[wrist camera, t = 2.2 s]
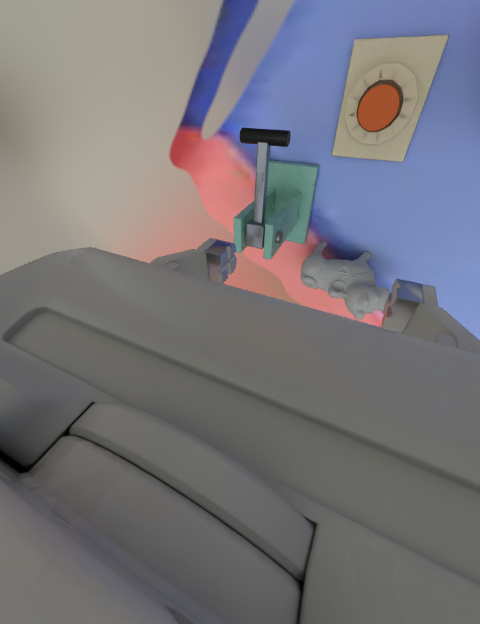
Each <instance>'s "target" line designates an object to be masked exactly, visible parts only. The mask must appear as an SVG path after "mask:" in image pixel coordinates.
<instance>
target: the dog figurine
mask: <svg viewBox="0 0 480 624" xmlns="http://www.w3.org/2000/svg"><path fill="white" fill-rule="evenodd" d="M326 246H327V243H326V242H321V243H320V244H318V245H317V247H316V248H315V250H314V251H313V252H312V254H311V255H310V256H308V257H307V258H306V259H305V260H304V262H303V265H302V268H301V276H300V277H301V281H302V282H303V284H304V285H306V286H307V287H310V288H314V289H317V288H320V289H322V290H324V291H327V292H328V294H329V295H330V296H331V297H334V298H341V297H342V298H343V299H344V300H345V304H346V306H347V308H348V310H349V311H350V312H351V313H352V314H353V315H354V316H355V318H356V319H362V318H363V317H364V314H366V313H373V312H374V311H375V310H382V311H383V309H384V305H385V302H386V299H387V297H388V295H389V294H390V293H389V291H388V289H386V288H381V287H376V286H377V284H376V283H375V282H376V278H375V275H374V273H373V271H372V269H371V268H370V267H369V266H368V265H367V263H366V261H367V260H368V259H369V258H370V256H371V253H370V252H367V251H365V252H363V253H362V255H360V257H359V258H358V259H357V260H353V261H349V260H338V259H326V258H324V257H323V256H322V250H323V249H324V248H325V247H326Z"/></svg>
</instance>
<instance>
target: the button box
mask: <svg viewBox="0 0 480 624" xmlns="http://www.w3.org/2000/svg"><path fill="white" fill-rule="evenodd" d="M448 37H449V35H432V36H411V37H391V38H370V39H355V40H354V45H353V50H352V55H351V60H350V65H349V70H348V75H347V80H346V85H345V90H344V95H343V100H342V105H341V110H340V116H339V121H338V126H337V131H336V136H335V141H334V146H333V151H332V156H341V157H352V158H363V159H374V160H385V161H396V162H403V160H404V158H405V155H406V152H407V149H408V147H409V144H410V141H411V139H412V136H413V133H414V130H415V128H416V125H417V122H418V119H419V117H420V114H421V111H422V108H423V106H424V103H425V100H426V98H427V95H428V92H429V89H430V87H431V84H432V81H433V78H434V76H435V73H436V70H437V67H438V65H439V62H440V59H441V57H442V54H443V51H444V48H445V46H446V43H447V40H448ZM380 84H391V85H393V86H394V87H395V88H396V89H397V90H398V92H399V95H400V104H399V108H398V111H397V113H396V115H395V117H394V118H393V120H392V121H391V122H390V123H389V124H388V125H387V126H385V127H384V128H382V129H380V130H376V131H369V130H366V129H365V128H363V127H362V126H361V124H360V122H359V119H358V109H359V105H360V102H361V100H362V99H363V97H364V96H365V95H366V93H367V92H368V91H370V90H371V89H372V88H374V87H375V86H377V85H380Z"/></svg>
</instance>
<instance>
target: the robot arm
mask: <svg viewBox="0 0 480 624" xmlns="http://www.w3.org/2000/svg"><path fill="white" fill-rule="evenodd" d="M235 252H236V245H235V244H234V243H230V242H226V241H222V240H218V239H212V238H210V239H208V240H207V241H206V242H205V243H203V244H202V245H201V246H200V247H198V248H197V249H192V250H187V251H183V252H179V253H175V254H171V255H166V256H162V257H158V258H156V259H155V260H153V261H152V262H151V263H146V262H142V261H138V260H135V259H132V258H128V257H125V256H121V255H117V254H114V253H110V252H106V251H103V250H100V249H96V248H91V247H89V248H79V249H72V250H66V251H61V252H56V253H53V254H49V255H46V256H44V257H41V258H39V259H36V260H34V261H32V262H29V263H27V264H25V265H22V266H20V267H18V268H15V269H13V270H10V271H8V272H6V273H4V274H1V275H0V624H480V340H479V339H477V338H476V337H475V336H474V335H473V334H472V333H470V332H469V331H468V330H467V329H466V328H465V327H463V326H462V325H461V324H460V323H459V322H458V321H456V320H455V319H454V318H453V317H452V316H451V315H449V314H448V313H447V312H446V311H445V310H444V309H442V308H440V307H438V302H437V295H436V289H435V287H434V286H431V285H425V284H420V283H415V282H410V281H405V280H400V279H396V280H395V282H394V284H393V286H392V293H390V294H389V295H388V297H387V299H386V302H385V305H384V309H383V314H384V316H383V319H382V328H381V327H377V326H374V325H370V324H367V323H363V322H359V321H356V320H352V319H349V318H345V317H341V316H338V315H334V314H330V313H327V312H323V311H320V310H316V309H312V308H309V307H305V306H301V305H298V304H294V303H290V302H287V301H283V300H280V299H276V298H272V297H269V296H265V295H262V294H258V293H254V292H251V291H247V290H243V289H240V288H236V287H233V286H229V285H226V284H223V283H224V281H226V279H227V278H228V275H229V274H232V273H233V271H234V269H235V267H236V257H235V255H234V253H235Z"/></svg>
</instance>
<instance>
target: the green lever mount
mask: <svg viewBox="0 0 480 624" xmlns="http://www.w3.org/2000/svg"><path fill="white" fill-rule="evenodd" d="M318 171H319V165H313V164H303V163H294V162H284V161H275V160H269V171H268V184H267V196H266V209H265V220H269V221H268V222H267V223H266V224H265V239H264V258H266V259H271V258H272V257H273V256H274V254H275V253H276V252H277V250H278V249H279V247H280V246H281V245H282V243H283V242H284V241H285V240H287V241H292V242H296V243H301V244H305V242H306V240H307V234H308V229H309V223H310V217H311V211H312V206H313V200H314V194H315V188H316V183H317V177H318ZM254 203H255V200H254V201H253V202H252V203H251V204H250V205H248V206H247V207H246V208H245V209H244V210H243V211H241V212H240V213H239V214H238V215H237V216H236V217H234V244H235V245H236V252H242V251H243V250H244V249H245V248H246V247H247V245H246V233H247V223H248V222H250V221H251V220H252V219H254Z"/></svg>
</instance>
